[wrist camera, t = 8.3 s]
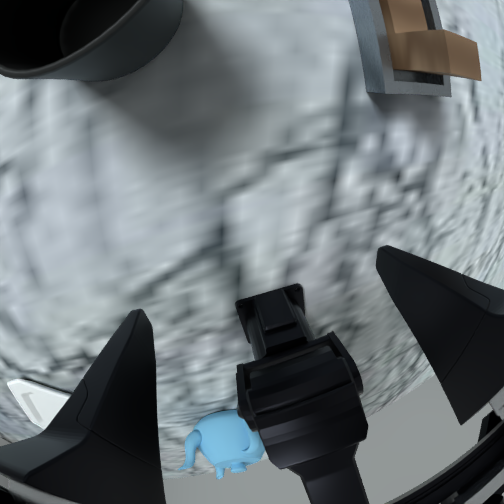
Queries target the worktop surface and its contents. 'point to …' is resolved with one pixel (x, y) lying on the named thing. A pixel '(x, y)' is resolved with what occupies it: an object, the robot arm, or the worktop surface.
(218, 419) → the teapot
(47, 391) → the plate
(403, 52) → the tan toy chair
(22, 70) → the mug
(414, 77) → the grey rectangular tray
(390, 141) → the worktop surface
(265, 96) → the worktop surface
